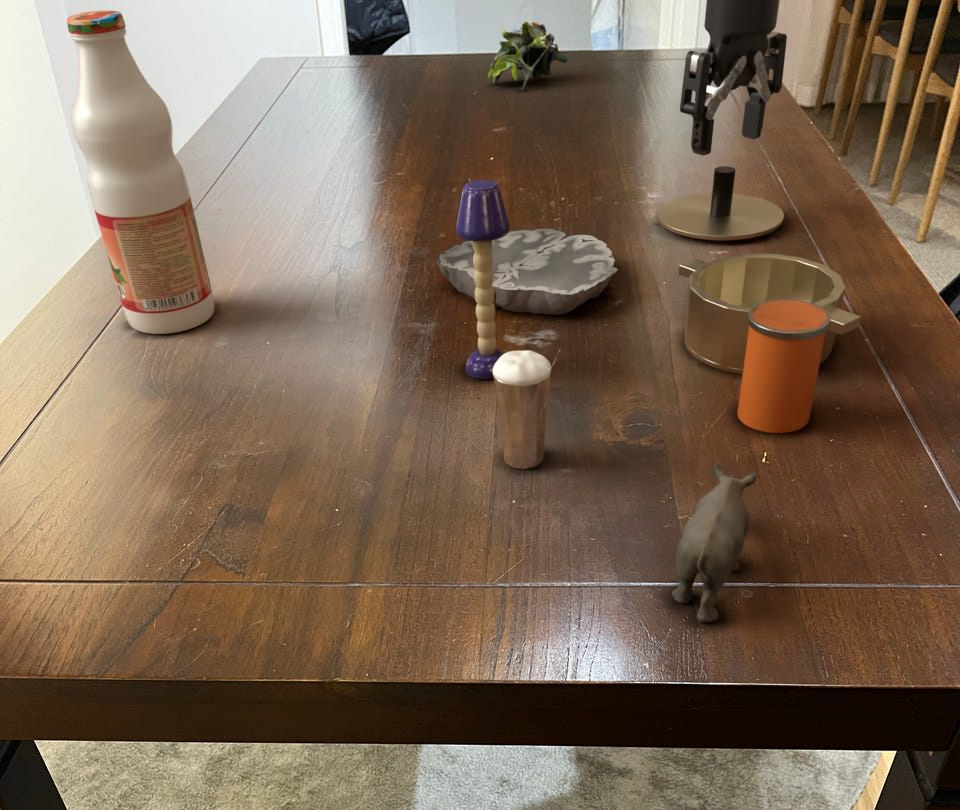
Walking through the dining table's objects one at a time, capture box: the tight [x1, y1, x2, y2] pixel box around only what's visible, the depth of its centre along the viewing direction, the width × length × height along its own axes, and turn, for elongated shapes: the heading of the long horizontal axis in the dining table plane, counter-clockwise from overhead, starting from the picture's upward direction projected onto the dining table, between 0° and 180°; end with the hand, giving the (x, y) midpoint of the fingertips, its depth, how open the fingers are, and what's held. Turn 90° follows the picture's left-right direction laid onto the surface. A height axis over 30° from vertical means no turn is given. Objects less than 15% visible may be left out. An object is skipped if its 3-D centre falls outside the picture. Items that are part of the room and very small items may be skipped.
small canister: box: [736, 299, 831, 434], centre depth 84 cm, size 6×6×9 cm
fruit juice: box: [66, 9, 215, 335], centre depth 99 cm, size 9×9×28 cm
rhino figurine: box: [671, 463, 758, 623], centre depth 70 cm, size 4×14×6 cm, turn 158°
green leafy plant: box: [487, 21, 568, 92], centre depth 172 cm, size 11×11×12 cm
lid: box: [657, 165, 785, 241], centre depth 119 cm, size 15×15×6 cm
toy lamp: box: [455, 179, 510, 380], centre depth 90 cm, size 5×5×17 cm
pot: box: [678, 253, 861, 375], centre depth 95 cm, size 14×19×6 cm
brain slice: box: [436, 227, 618, 316], centre depth 109 cm, size 20×17×3 cm
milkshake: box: [493, 348, 562, 470], centre depth 80 cm, size 4×5×10 cm
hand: (726, 145), depth 116 cm, fingers open, 8 cm apart
